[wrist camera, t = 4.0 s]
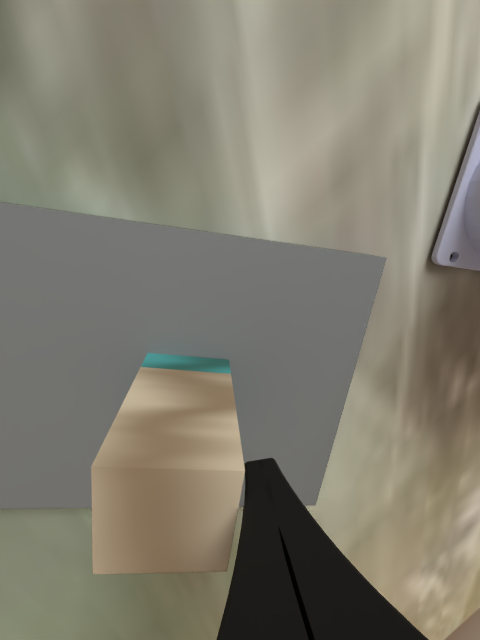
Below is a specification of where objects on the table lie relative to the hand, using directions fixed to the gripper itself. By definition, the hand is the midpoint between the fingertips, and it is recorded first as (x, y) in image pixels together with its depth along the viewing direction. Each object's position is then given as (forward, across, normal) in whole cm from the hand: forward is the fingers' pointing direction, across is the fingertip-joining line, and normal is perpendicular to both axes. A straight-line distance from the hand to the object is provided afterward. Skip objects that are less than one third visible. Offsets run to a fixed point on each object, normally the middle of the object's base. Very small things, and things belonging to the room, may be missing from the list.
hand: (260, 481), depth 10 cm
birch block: (+5, +3, -1) cm, 6 cm away
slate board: (+6, +5, -1) cm, 8 cm away
